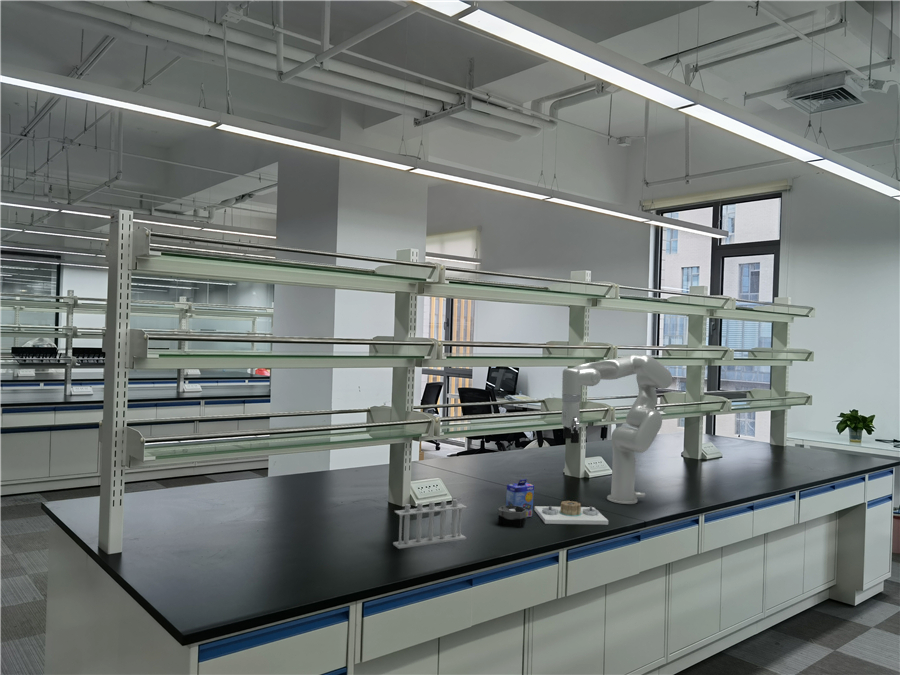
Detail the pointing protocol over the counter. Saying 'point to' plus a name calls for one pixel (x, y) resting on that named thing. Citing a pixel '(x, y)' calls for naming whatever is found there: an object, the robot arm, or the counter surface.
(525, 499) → the ink cartridge box
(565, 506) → the maple gear
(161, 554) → the counter surface
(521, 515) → the cpu cooler
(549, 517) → the gear board
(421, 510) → the test tube rack
